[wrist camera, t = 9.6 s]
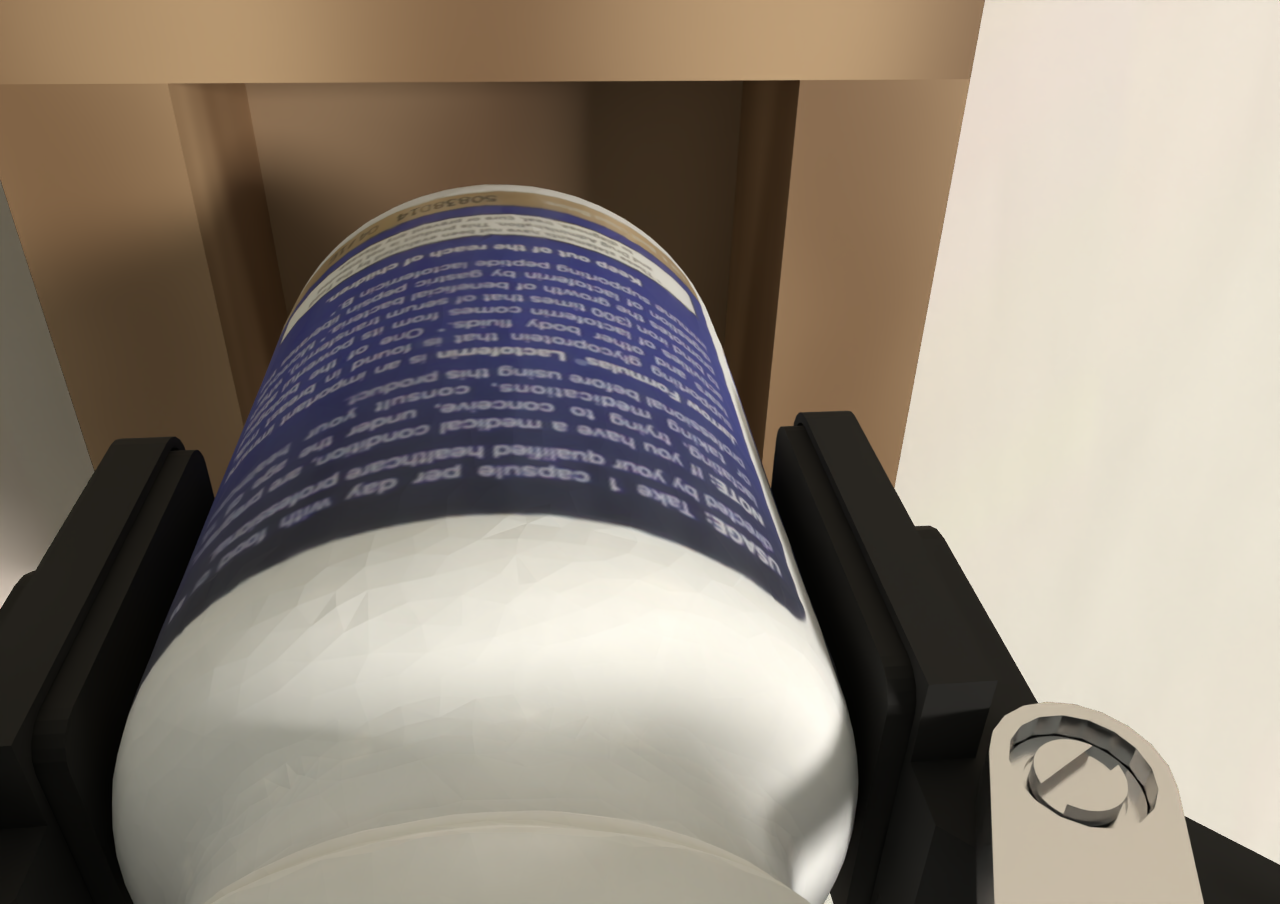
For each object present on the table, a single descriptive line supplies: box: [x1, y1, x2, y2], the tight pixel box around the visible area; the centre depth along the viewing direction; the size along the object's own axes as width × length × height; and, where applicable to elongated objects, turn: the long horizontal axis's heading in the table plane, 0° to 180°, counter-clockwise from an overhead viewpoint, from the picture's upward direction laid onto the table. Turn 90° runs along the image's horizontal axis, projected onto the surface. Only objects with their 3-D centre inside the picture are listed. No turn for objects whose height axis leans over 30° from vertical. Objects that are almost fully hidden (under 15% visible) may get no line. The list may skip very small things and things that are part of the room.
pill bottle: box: [112, 184, 858, 904], centre depth 10 cm, size 6×6×10 cm
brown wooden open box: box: [0, 0, 985, 498], centre depth 16 cm, size 14×14×4 cm
